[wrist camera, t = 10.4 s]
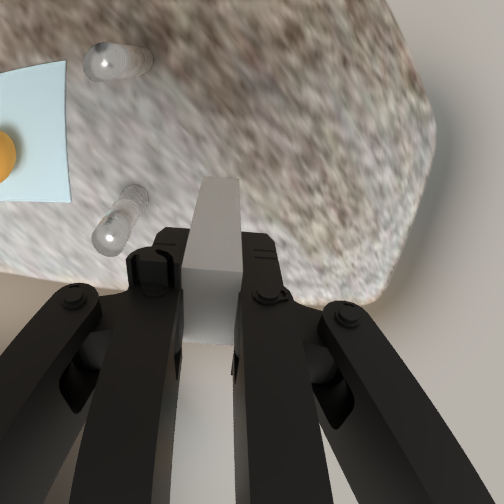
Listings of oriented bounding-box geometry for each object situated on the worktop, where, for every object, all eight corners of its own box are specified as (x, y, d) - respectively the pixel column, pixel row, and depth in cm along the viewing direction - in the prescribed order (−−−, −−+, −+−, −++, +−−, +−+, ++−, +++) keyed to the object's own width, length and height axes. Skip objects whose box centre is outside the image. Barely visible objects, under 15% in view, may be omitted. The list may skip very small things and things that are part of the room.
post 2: (121, 184, 28) (89, 225, 21) (148, 185, 28) (122, 227, 21) (123, 209, 29) (94, 255, 22) (148, 210, 29) (125, 258, 23)
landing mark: (-34, 83, 19) (-35, 83, 19) (66, 60, 21) (65, 60, 20) (-21, 200, 27) (-22, 200, 26) (71, 201, 28) (70, 202, 28)
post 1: (124, 47, 21) (84, 44, 14) (154, 46, 21) (122, 40, 14) (122, 76, 22) (82, 83, 16) (151, 75, 23) (119, 80, 16)
